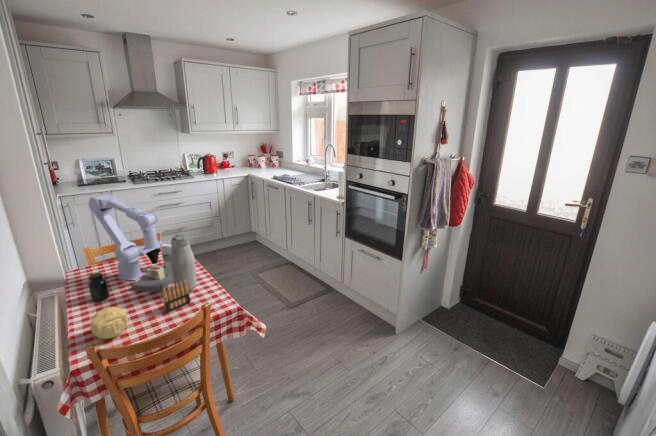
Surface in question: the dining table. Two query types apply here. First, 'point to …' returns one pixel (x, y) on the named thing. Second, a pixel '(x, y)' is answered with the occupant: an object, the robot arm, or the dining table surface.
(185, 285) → the ammunition clip
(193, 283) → the grey bottle
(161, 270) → the peg
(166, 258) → the syrup box
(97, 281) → the supplement bottle
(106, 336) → the sculpture
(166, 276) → the slot board
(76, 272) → the dining table surface
